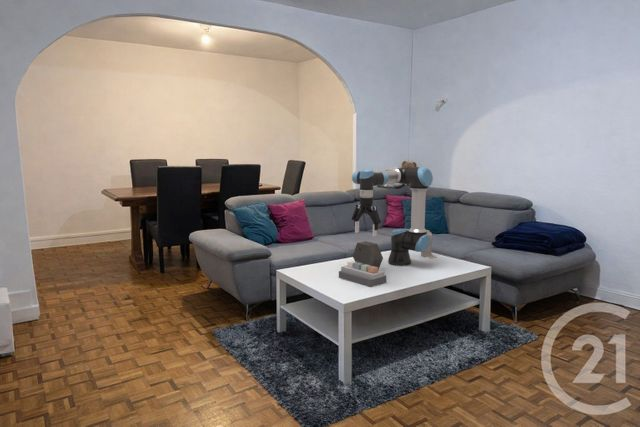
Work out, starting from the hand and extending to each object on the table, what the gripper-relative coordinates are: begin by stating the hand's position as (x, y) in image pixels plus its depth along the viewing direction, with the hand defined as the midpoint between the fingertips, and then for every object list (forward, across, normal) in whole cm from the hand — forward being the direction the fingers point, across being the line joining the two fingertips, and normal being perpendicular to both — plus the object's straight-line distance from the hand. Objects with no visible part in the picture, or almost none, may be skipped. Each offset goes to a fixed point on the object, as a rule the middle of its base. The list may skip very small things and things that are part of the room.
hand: (365, 234), depth 258 cm
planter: (+28, -15, +19) cm, 37 cm away
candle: (+28, -10, +79) cm, 85 cm away
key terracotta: (+22, +5, +1) cm, 22 cm away
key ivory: (+22, -12, +1) cm, 25 cm away
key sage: (+22, -1, +1) cm, 22 cm away
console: (+28, -3, +1) cm, 28 cm away
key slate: (+22, -6, +1) cm, 22 cm away
